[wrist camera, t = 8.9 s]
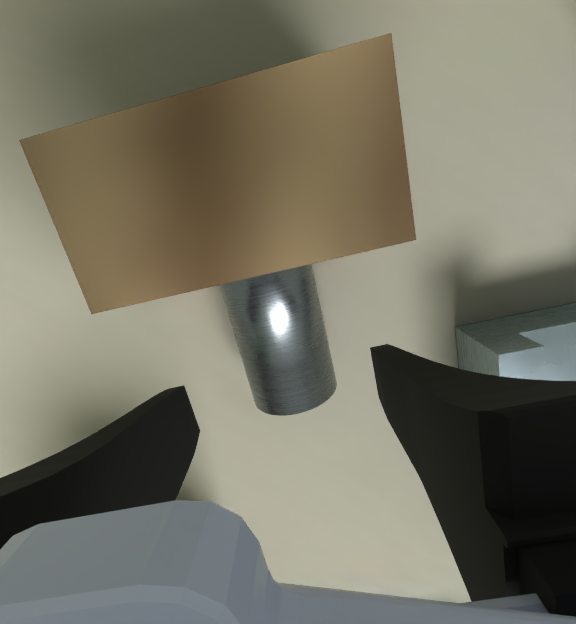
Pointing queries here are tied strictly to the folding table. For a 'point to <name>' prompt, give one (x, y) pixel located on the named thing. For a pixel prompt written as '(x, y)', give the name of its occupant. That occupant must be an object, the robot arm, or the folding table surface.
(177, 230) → the beam
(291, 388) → the axle
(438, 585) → the folding table surface
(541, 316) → the cradle
